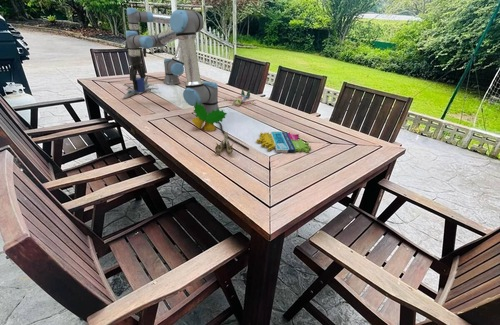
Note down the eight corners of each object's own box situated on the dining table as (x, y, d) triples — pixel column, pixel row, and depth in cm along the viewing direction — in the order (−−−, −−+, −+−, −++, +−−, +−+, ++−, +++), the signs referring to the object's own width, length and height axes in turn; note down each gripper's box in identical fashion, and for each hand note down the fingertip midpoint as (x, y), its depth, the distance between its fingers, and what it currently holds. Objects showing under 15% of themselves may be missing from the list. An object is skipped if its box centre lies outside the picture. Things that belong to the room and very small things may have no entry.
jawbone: (234, 135, 144) (233, 125, 135) (233, 160, 138) (232, 151, 129) (217, 135, 144) (216, 125, 135) (216, 160, 138) (214, 150, 129)
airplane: (117, 88, 232) (115, 76, 227) (154, 85, 245) (152, 75, 240) (121, 101, 204) (118, 88, 199) (162, 97, 217) (161, 85, 212)
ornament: (218, 133, 171) (224, 110, 169) (221, 134, 163) (227, 111, 161) (186, 125, 162) (192, 101, 160) (189, 126, 155) (195, 101, 153)
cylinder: (147, 90, 196) (146, 78, 191) (141, 92, 189) (139, 80, 185) (139, 89, 197) (137, 76, 193) (132, 91, 191) (130, 78, 187)
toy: (261, 91, 228) (254, 99, 202) (261, 99, 231) (253, 108, 205) (231, 87, 233) (220, 95, 207) (230, 95, 236) (219, 104, 210)
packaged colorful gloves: (313, 150, 142) (258, 149, 139) (312, 153, 143) (258, 152, 140) (301, 132, 164) (254, 130, 161) (301, 134, 165) (254, 133, 162)
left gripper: (122, 30, 203) (127, 59, 213) (150, 30, 221) (153, 56, 231) (117, 29, 206) (122, 57, 216) (144, 29, 224) (147, 55, 235)
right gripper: (139, 53, 191) (143, 85, 202) (120, 56, 173) (126, 91, 185) (148, 54, 189) (152, 86, 201) (130, 57, 172) (135, 92, 183)
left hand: (138, 57), depth 224 cm, fingers open, 13 cm apart
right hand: (139, 88), depth 193 cm, fingers closed on cylinder, 8 cm apart
